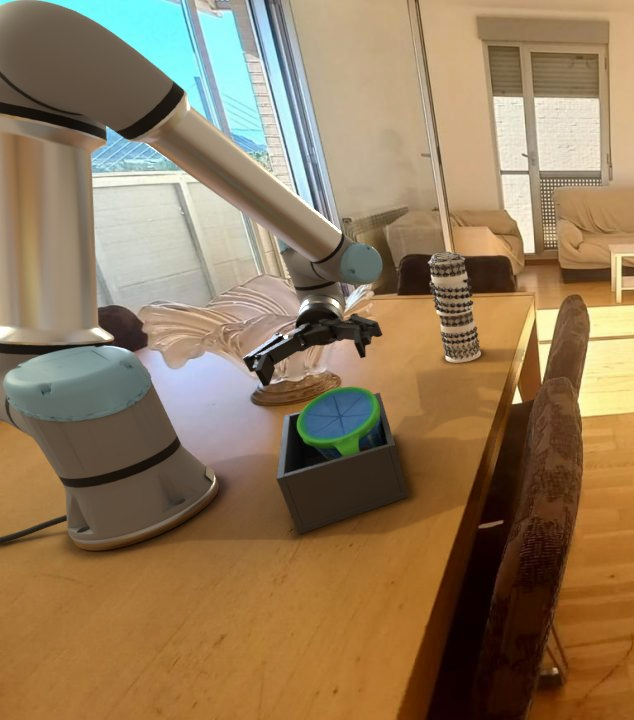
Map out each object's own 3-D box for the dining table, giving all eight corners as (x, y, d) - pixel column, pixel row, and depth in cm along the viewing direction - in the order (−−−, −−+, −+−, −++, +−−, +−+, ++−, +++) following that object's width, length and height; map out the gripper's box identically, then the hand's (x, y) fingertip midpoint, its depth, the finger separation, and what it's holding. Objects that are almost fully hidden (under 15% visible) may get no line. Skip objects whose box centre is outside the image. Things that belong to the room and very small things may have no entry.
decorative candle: (466, 346, 122) (449, 248, 112) (490, 353, 117) (475, 251, 107) (435, 358, 115) (415, 255, 105) (460, 366, 111) (441, 259, 101)
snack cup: (404, 481, 71) (383, 440, 64) (326, 508, 68) (296, 468, 61) (390, 409, 81) (371, 367, 74) (322, 429, 78) (295, 387, 71)
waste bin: (298, 535, 62) (276, 479, 58) (301, 463, 77) (283, 415, 73) (408, 497, 68) (394, 444, 65) (391, 437, 83) (379, 392, 79)
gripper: (396, 320, 96) (405, 359, 79) (255, 358, 87) (230, 412, 70) (383, 285, 93) (389, 318, 75) (234, 321, 84) (203, 368, 67)
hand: (312, 363), depth 73 cm, fingers open, 13 cm apart
